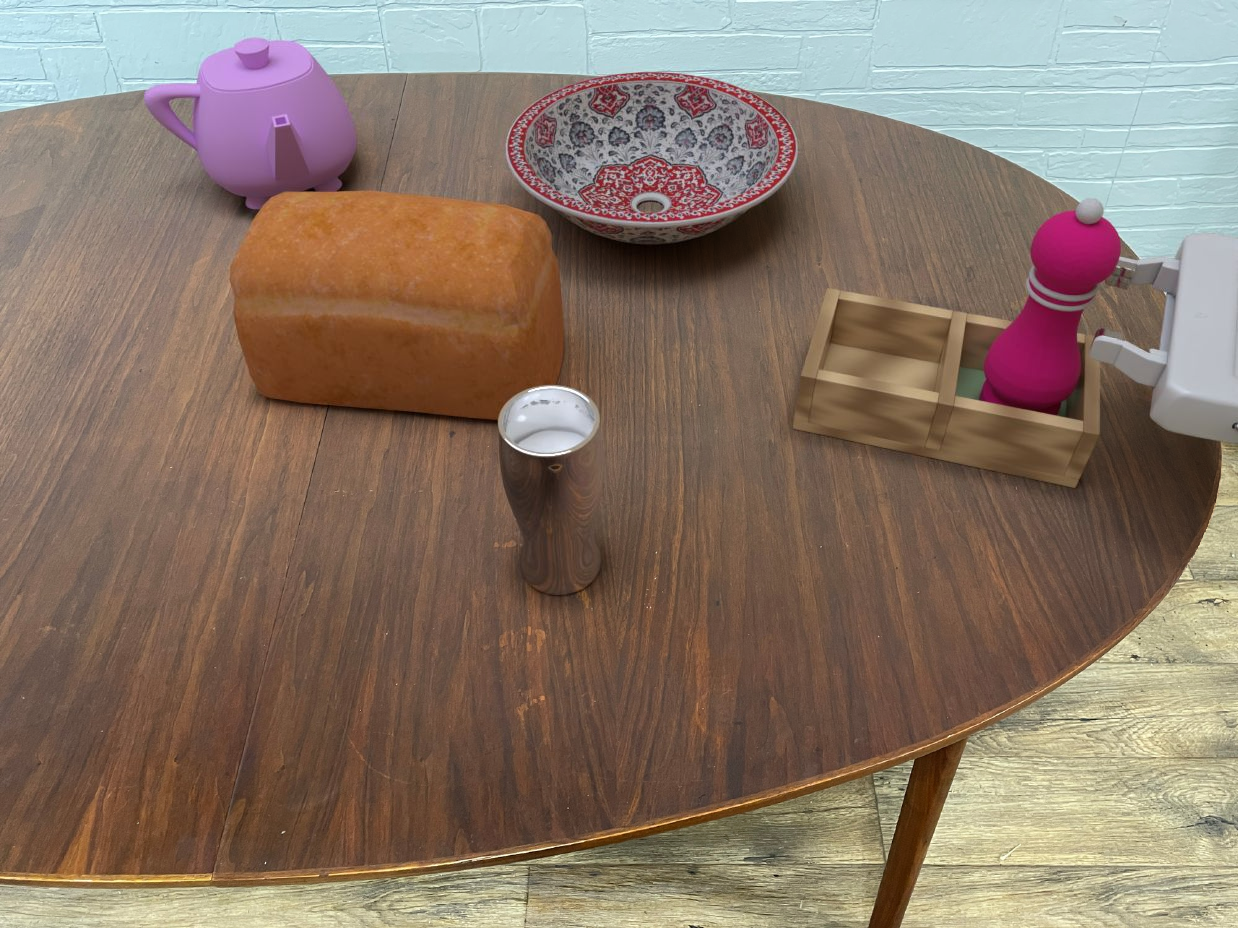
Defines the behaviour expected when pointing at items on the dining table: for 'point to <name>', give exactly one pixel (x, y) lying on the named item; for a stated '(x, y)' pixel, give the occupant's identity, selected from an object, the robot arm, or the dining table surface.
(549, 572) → the metal cup
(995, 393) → the pepper mill
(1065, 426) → the divided wooden box
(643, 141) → the ceramic bowl
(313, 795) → the dining table surface
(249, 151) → the teapot
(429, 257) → the bread
